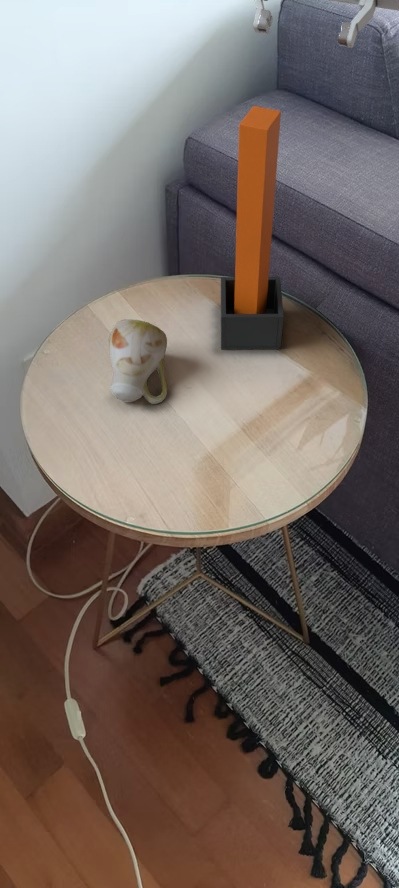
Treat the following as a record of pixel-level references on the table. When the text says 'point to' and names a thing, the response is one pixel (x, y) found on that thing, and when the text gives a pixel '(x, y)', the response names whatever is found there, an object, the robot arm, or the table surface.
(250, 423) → the table surface
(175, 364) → the table surface
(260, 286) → the block
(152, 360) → the mug
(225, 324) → the bin
